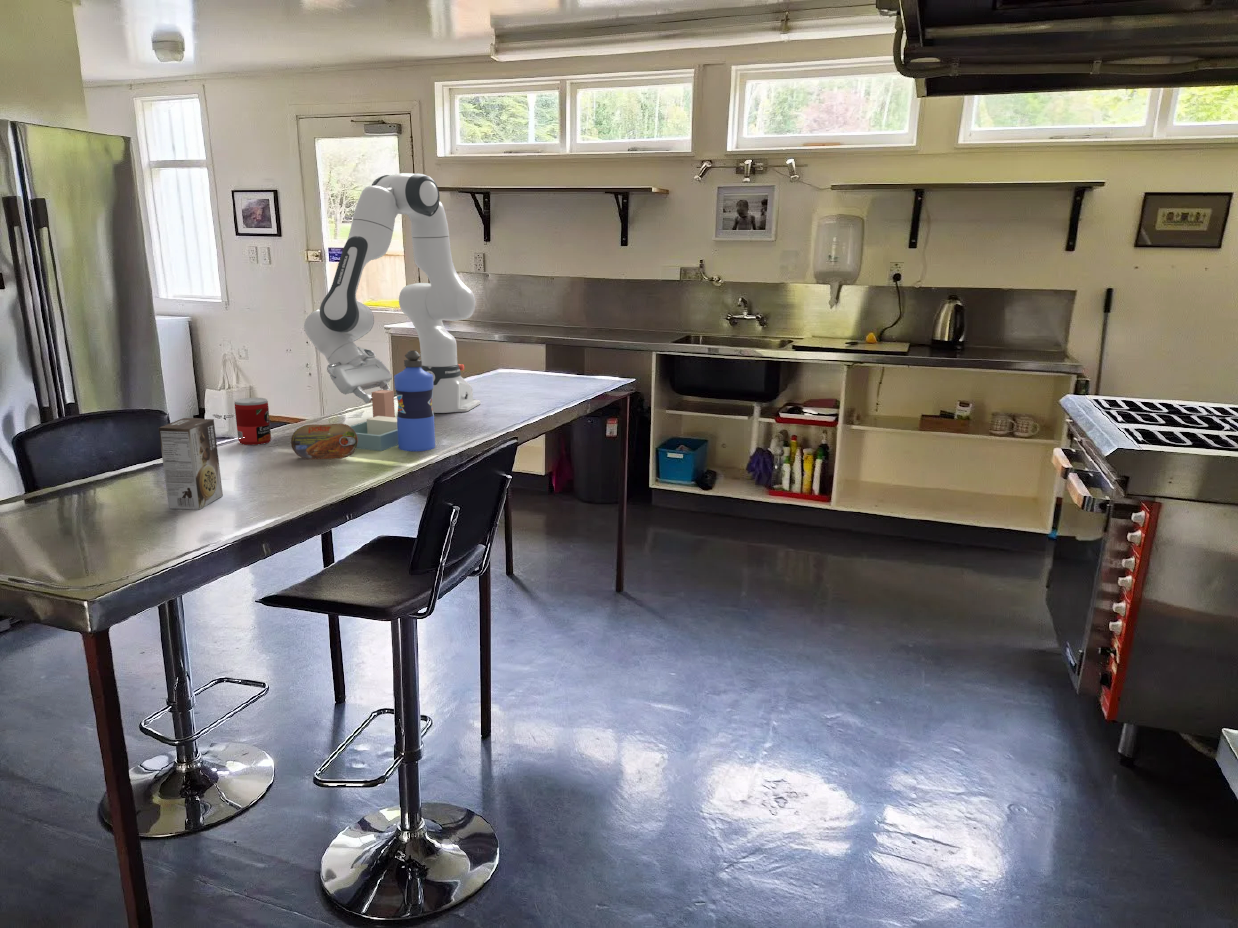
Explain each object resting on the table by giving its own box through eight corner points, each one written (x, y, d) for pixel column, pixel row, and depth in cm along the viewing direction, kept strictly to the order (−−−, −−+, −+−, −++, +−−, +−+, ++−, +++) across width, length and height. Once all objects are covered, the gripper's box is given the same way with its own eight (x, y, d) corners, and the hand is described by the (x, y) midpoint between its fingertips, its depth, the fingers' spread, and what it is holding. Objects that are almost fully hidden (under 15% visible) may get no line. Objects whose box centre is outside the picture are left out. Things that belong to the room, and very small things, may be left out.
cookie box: (192, 495, 164) (183, 417, 160) (224, 496, 164) (215, 418, 159) (167, 509, 155) (156, 427, 151) (200, 510, 155) (190, 427, 151)
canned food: (263, 445, 205) (259, 403, 202) (232, 445, 205) (228, 402, 202) (276, 439, 212) (273, 397, 210) (246, 438, 213) (242, 397, 210)
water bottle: (401, 455, 198) (396, 353, 191) (395, 447, 206) (390, 349, 200) (439, 452, 202) (435, 352, 195) (431, 444, 210) (427, 348, 203)
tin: (292, 460, 192) (289, 425, 190) (294, 457, 195) (291, 423, 193) (358, 458, 195) (356, 424, 193) (359, 455, 198) (357, 421, 196)
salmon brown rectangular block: (383, 428, 227) (381, 389, 225) (395, 429, 226) (393, 390, 223) (373, 431, 223) (371, 392, 221) (386, 432, 222) (384, 393, 219)
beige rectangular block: (379, 434, 217) (378, 415, 215) (408, 437, 214) (407, 418, 213) (367, 437, 212) (366, 419, 211) (397, 441, 209) (396, 422, 208)
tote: (377, 434, 220) (376, 418, 219) (421, 439, 216) (420, 422, 214) (334, 448, 203) (332, 431, 202) (381, 454, 199) (380, 436, 198)
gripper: (330, 357, 213) (363, 397, 212) (376, 350, 231) (407, 386, 231) (317, 373, 215) (350, 412, 214) (364, 364, 234) (395, 400, 233)
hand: (380, 398), depth 223 cm, fingers open, 8 cm apart
